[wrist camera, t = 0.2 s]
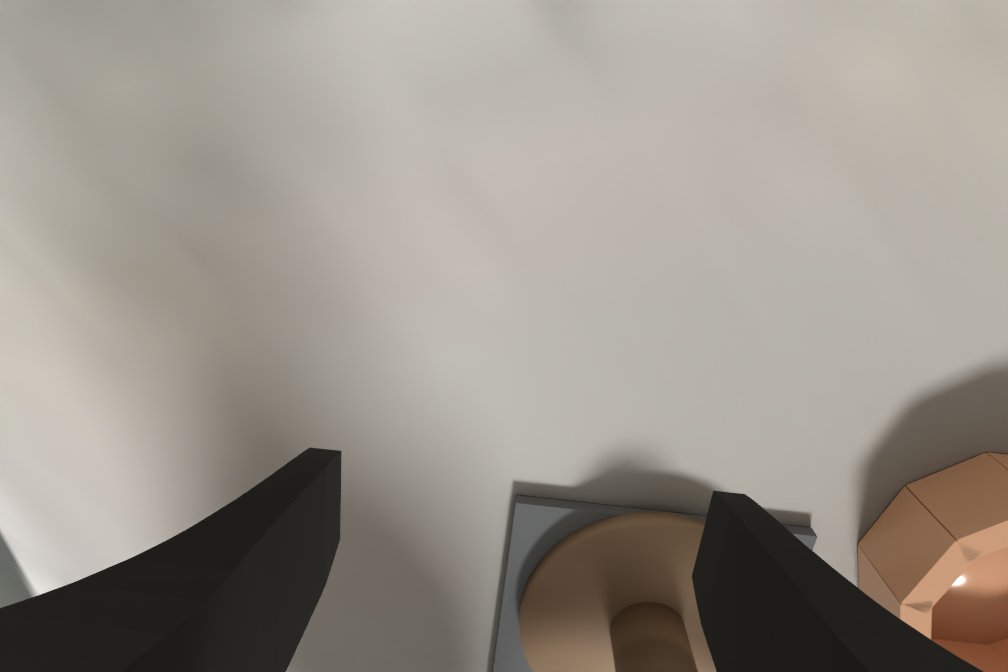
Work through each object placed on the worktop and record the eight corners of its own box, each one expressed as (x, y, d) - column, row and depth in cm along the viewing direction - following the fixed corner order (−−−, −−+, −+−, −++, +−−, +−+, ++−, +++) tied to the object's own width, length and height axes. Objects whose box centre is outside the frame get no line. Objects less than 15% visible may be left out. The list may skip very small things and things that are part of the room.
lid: (737, 717, 27) (774, 830, 23) (507, 691, 27) (503, 800, 23) (799, 527, 24) (856, 620, 19) (536, 497, 23) (537, 585, 19)
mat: (740, 736, 28) (744, 747, 28) (487, 709, 28) (486, 719, 28) (811, 527, 24) (817, 536, 24) (516, 495, 24) (515, 502, 24)
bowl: (1053, 659, 26) (1117, 728, 23) (824, 634, 26) (860, 700, 23) (1157, 471, 23) (1246, 525, 20) (895, 441, 23) (947, 492, 20)
